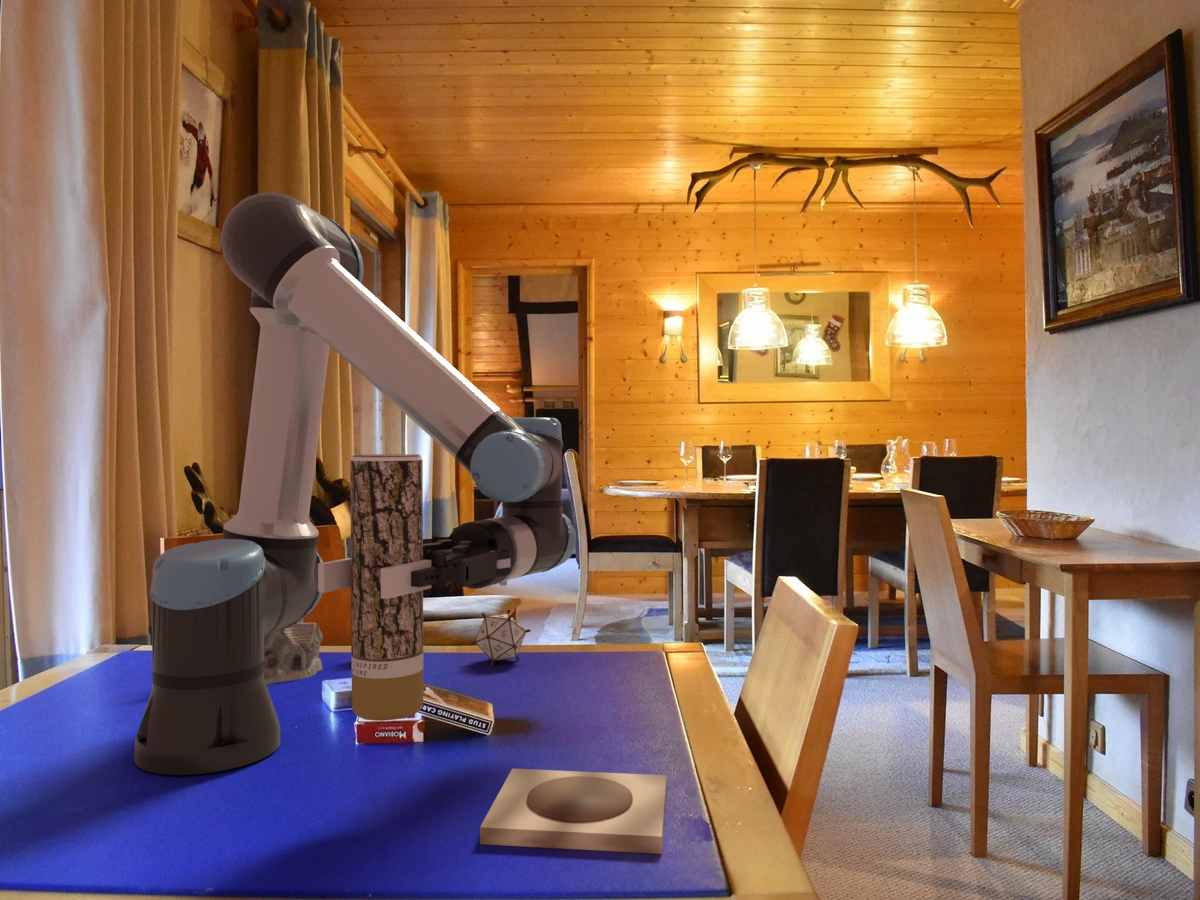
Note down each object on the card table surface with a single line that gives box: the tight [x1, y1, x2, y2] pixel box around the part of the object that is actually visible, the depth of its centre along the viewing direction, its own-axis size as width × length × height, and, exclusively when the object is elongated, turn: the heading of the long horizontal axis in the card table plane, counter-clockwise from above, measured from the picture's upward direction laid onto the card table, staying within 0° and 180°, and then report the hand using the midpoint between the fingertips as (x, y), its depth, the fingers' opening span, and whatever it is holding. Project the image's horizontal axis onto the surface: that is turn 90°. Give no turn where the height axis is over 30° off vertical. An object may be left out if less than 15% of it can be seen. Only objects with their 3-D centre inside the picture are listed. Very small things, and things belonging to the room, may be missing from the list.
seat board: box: [479, 768, 668, 855], centre depth 85 cm, size 16×14×2 cm
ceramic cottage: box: [264, 618, 324, 686], centre depth 133 cm, size 16×16×15 cm
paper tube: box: [349, 453, 424, 721], centre depth 86 cm, size 7×7×25 cm
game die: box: [469, 608, 532, 666], centre depth 142 cm, size 9×8×10 cm
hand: (352, 580), depth 82 cm, fingers closed on paper tube, 7 cm apart
